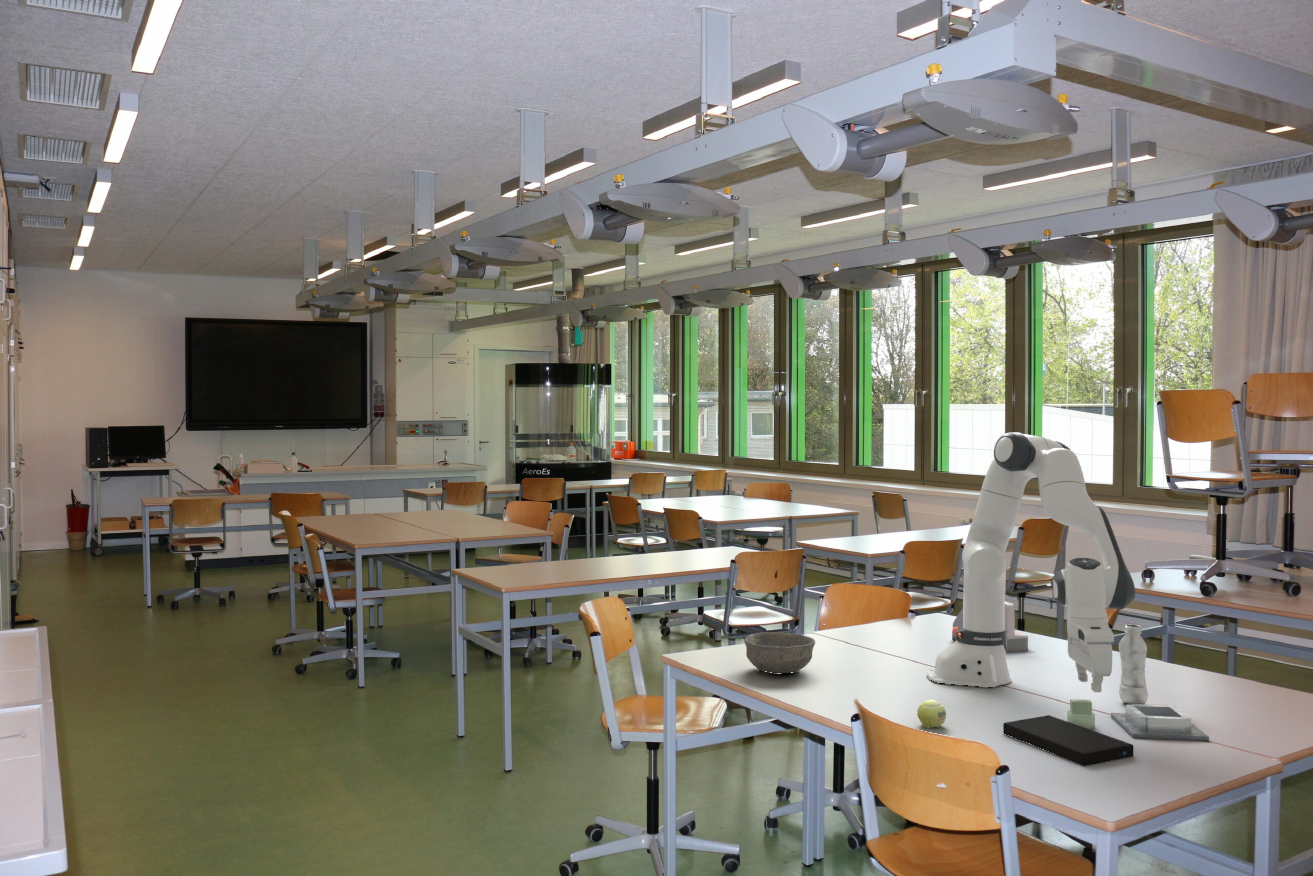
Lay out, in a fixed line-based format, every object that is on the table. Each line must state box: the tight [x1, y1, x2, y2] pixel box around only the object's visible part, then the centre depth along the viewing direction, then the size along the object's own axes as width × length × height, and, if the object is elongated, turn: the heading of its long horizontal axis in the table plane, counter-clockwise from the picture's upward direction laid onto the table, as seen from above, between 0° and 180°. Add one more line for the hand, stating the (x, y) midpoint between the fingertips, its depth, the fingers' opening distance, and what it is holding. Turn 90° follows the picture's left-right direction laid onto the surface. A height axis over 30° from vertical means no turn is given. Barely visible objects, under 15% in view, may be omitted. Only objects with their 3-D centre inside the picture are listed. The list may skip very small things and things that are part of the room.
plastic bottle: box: [1118, 623, 1149, 705], centre depth 241 cm, size 6×7×20 cm
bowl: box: [743, 631, 816, 674], centre depth 275 cm, size 21×21×10 cm
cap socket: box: [1110, 703, 1210, 742], centre depth 222 cm, size 16×16×4 cm
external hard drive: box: [1002, 714, 1134, 767], centre depth 211 cm, size 14×23×3 cm, turn 23°
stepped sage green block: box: [1066, 698, 1096, 730], centre depth 225 cm, size 6×6×6 cm
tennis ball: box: [916, 698, 947, 728], centre depth 225 cm, size 6×7×7 cm
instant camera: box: [951, 601, 1029, 652], centre depth 309 cm, size 21×21×15 cm
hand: (1089, 686), depth 224 cm, fingers open, 8 cm apart
